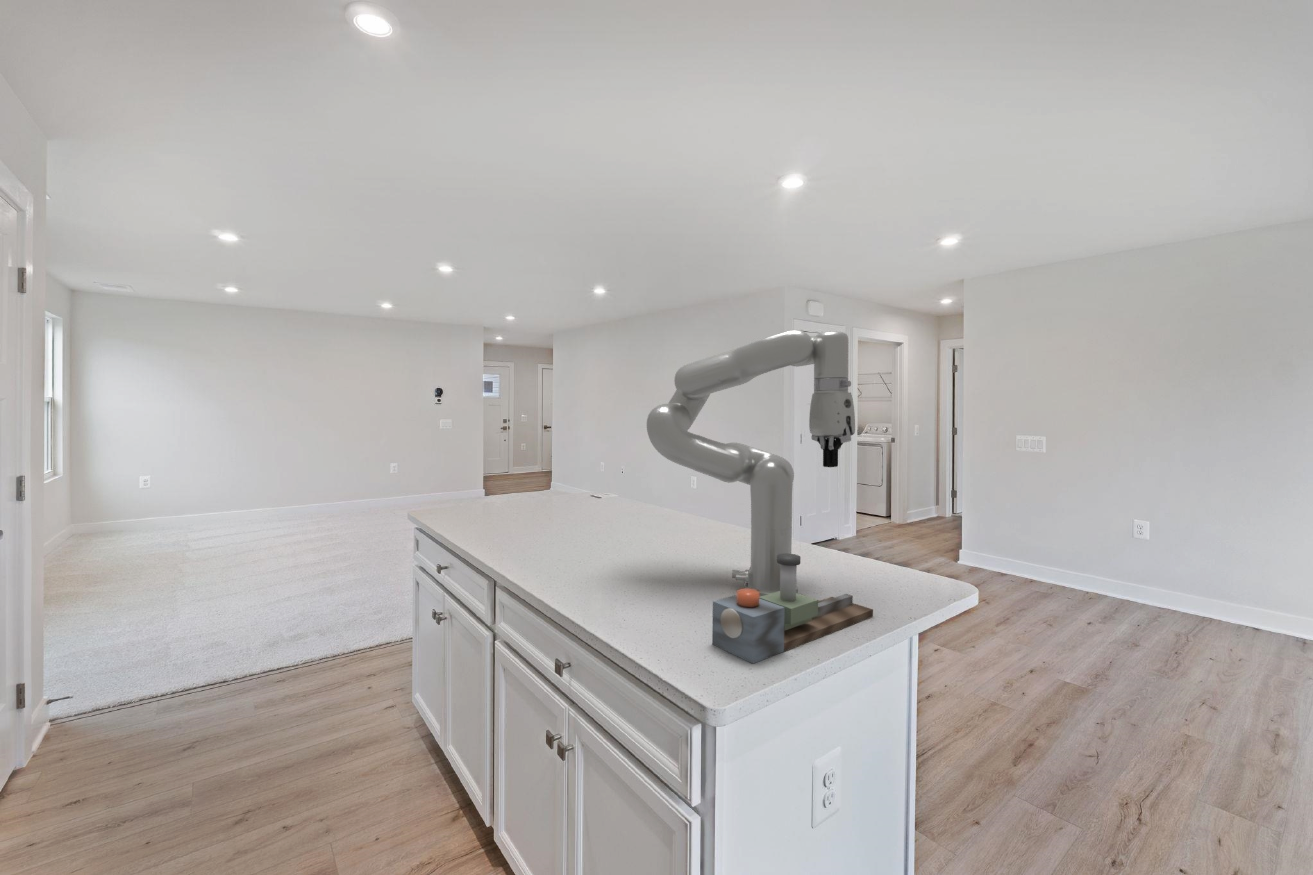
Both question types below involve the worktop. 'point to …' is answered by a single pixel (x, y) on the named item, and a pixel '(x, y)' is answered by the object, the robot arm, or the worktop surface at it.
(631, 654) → the worktop surface
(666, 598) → the worktop surface
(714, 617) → the rail stand
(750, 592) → the button
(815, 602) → the block
